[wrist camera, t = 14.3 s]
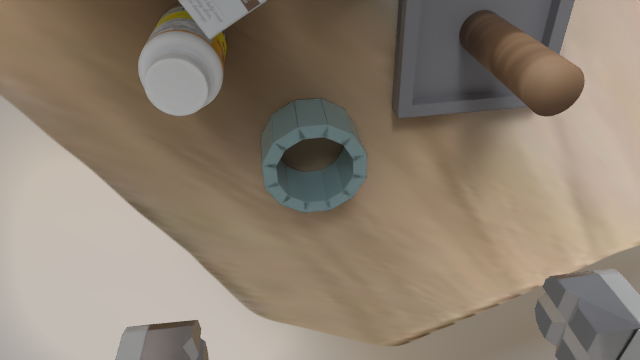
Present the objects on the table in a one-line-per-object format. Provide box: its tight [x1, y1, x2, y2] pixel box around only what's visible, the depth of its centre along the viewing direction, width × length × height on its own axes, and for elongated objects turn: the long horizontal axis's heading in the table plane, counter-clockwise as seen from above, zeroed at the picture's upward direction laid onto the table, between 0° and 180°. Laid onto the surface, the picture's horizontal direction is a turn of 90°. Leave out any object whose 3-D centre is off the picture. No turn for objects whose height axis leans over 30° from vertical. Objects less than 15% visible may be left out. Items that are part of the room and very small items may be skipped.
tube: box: [261, 98, 367, 213], centre depth 42 cm, size 9×9×5 cm
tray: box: [392, 0, 575, 118], centre depth 38 cm, size 14×14×2 cm
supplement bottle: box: [138, 5, 227, 116], centre depth 32 cm, size 6×6×10 cm
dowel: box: [459, 10, 584, 116], centre depth 33 cm, size 4×4×12 cm
